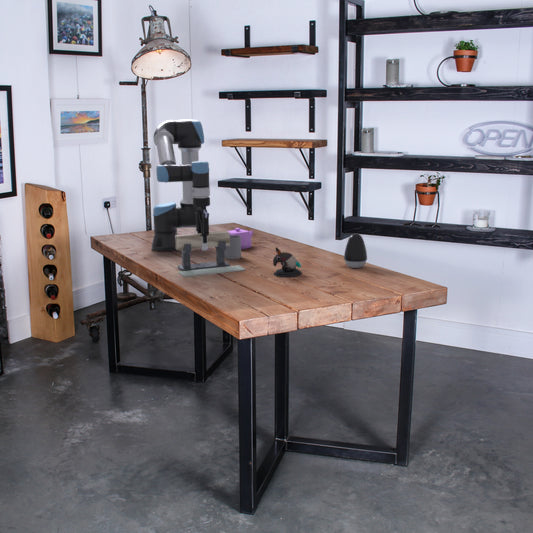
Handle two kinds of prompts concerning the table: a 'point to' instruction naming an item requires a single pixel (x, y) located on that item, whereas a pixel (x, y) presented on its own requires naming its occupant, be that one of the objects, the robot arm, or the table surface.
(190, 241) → the rail
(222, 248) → the rack
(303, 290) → the table surface
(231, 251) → the cup
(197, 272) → the mat
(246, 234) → the teapot
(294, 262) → the figurine
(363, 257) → the black speaker
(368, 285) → the table surface
